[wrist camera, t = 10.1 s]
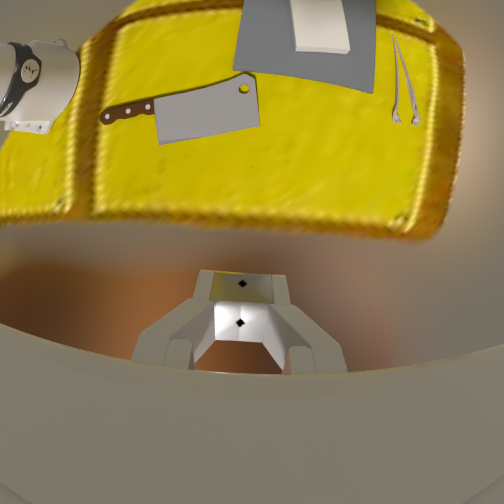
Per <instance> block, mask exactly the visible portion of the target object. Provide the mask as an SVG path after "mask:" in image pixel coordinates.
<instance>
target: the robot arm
mask: <svg viewBox="0 0 504 504" xmlns="http://www.w3.org/2000/svg"><path fill="white" fill-rule="evenodd" d="M79 70H80V68H79V60H78V57H77V55H76V54H75V53H74V52H73V51H72V50H70V49H69V48H68V47H67V44H66V42H65V40H62V39H59V40H57V41H55V42H54V43H49V42H44V41H38V40H33V41H32V42H30V43H28V44H27V45H25V44H23V43H18V42H17V43H14V42H10V43H8V44H4V43H0V121H5V122H6V123H5V128H4V129H5V130H17V131H25V132H32V133H38V134H47V133H48V132H49V131H50V129H51V127H52V125H53V123H54V121H55V119H56V118H57V117H58V116H59V115H60V114H61V113H62V112H63V110H64V109H65V108H66V106H67V105H68V103H69V102H70V100H71V98H72V96H73V94H74V92H75V89H76V86H77V83H78V78H79ZM215 340H235V341H236V340H237V341H249V342H263V344H264V346H265V347H266V348H267V350H268V351H269V353H270V354H271V355H272V357H273V358H274V359H275V361H276V362H277V363H278V365H279V366H280V367H281V369H282V370H283V371H282V374H281V375H267V374H266V375H265V374H240V373H224V372H211V371H201V370H195V362H196V361H197V360H198V359H199V358H200V357H201V355H202V354H203V353H204V352H205V351H206V350H207V349H208V348H209V347H210V345H211V344H212V343H213V342H214V341H215ZM0 504H504V344H502V345H499V346H495V347H492V348H488V349H485V350H481V351H477V352H473V353H469V354H465V355H461V356H457V357H453V358H448V359H443V360H438V361H433V362H427V363H422V364H416V365H409V366H403V367H396V368H388V369H380V370H371V371H361V372H349V373H348V371H347V368H346V364H345V360H344V357H343V353H342V350H341V346H340V344H338V343H337V342H336V341H335V340H334V339H333V338H332V337H330V336H329V335H328V334H327V333H326V332H325V331H324V330H322V329H321V328H320V327H319V326H318V325H317V324H316V323H315V322H313V321H312V320H311V319H310V318H309V317H308V316H307V315H306V314H304V313H303V312H302V311H301V310H300V309H299V308H298V307H296V306H295V305H291V303H290V297H289V292H288V286H287V281H286V276H285V275H260V274H243V273H234V272H223V271H212V270H201V271H200V272H199V276H198V280H197V283H196V287H195V291H194V295H193V299H190V298H189V299H187V300H186V301H184V302H183V303H182V304H180V305H179V306H177V307H176V308H175V309H173V310H172V311H171V312H169V313H168V314H166V315H165V316H163V317H162V318H161V319H159V320H158V321H157V322H155V323H154V324H152V325H151V326H150V327H148V328H147V329H145V330H144V331H143V332H141V333H140V336H139V339H138V341H137V344H136V347H135V349H134V353H133V355H132V358H131V361H130V360H125V359H120V358H115V357H110V356H105V355H101V354H97V353H92V352H88V351H84V350H80V349H76V348H73V347H69V346H65V345H62V344H58V343H55V342H52V341H48V340H45V339H42V338H39V337H36V336H33V335H30V334H27V333H24V332H21V331H19V330H16V329H13V328H10V327H8V326H5V325H2V324H0Z"/></svg>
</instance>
